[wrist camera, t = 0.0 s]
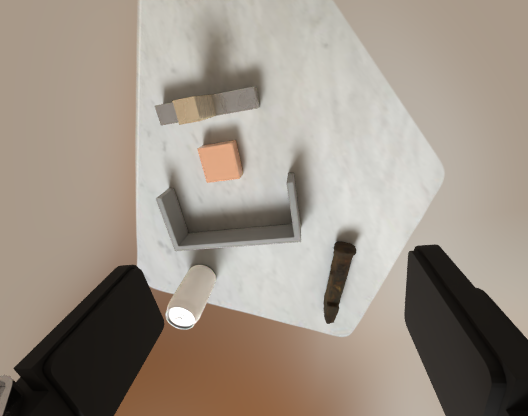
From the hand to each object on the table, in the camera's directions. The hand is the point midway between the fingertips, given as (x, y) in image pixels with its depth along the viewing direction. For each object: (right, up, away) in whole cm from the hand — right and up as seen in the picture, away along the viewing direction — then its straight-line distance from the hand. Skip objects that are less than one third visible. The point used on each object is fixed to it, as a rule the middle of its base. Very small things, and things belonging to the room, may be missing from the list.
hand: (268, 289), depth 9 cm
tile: (-7, +12, +37) cm, 39 cm away
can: (-14, -12, +49) cm, 52 cm away
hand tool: (+15, -12, +45) cm, 49 cm away
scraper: (-9, +20, +33) cm, 40 cm away
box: (-6, +3, +40) cm, 41 cm away
